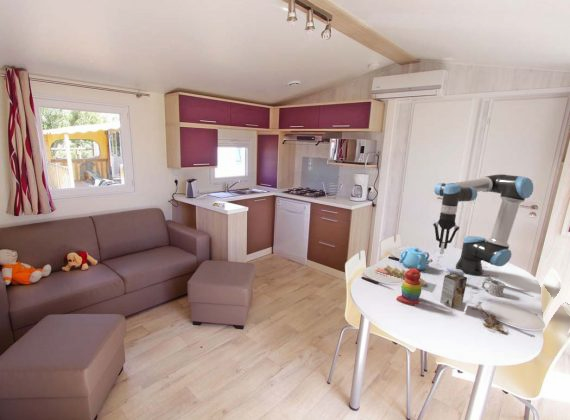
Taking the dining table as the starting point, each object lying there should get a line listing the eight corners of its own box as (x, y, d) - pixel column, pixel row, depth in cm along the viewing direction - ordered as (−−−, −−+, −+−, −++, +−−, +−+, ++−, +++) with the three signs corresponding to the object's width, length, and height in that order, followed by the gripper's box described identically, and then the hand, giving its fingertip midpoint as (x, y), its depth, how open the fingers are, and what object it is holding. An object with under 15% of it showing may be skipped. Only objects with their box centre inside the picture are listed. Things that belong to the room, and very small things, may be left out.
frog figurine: (475, 316, 145) (476, 309, 144) (504, 323, 140) (506, 316, 139) (479, 329, 134) (481, 322, 134) (511, 337, 130) (513, 330, 129)
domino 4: (418, 279, 175) (402, 269, 180) (416, 282, 171) (400, 271, 176) (416, 281, 176) (401, 271, 181) (414, 284, 172) (398, 273, 177)
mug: (503, 293, 168) (505, 283, 167) (501, 297, 164) (503, 286, 162) (482, 287, 175) (484, 277, 174) (479, 291, 170) (482, 280, 169)
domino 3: (410, 277, 178) (395, 267, 182) (408, 280, 174) (392, 269, 178) (408, 279, 179) (393, 269, 183) (406, 282, 175) (391, 271, 179)
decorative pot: (431, 269, 198) (434, 249, 195) (418, 274, 188) (421, 254, 185) (408, 260, 210) (411, 242, 207) (395, 265, 201) (398, 246, 198)
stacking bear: (403, 293, 163) (408, 263, 159) (422, 301, 156) (428, 269, 152) (394, 300, 156) (399, 268, 152) (414, 308, 149) (419, 275, 145)
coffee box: (450, 300, 158) (455, 272, 155) (462, 306, 153) (468, 277, 149) (439, 303, 154) (444, 275, 150) (450, 310, 149) (456, 280, 145)
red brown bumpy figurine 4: (402, 274, 181) (387, 264, 185) (399, 277, 177) (384, 267, 181) (401, 276, 181) (386, 266, 186) (398, 279, 177) (383, 269, 182)
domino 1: (391, 277, 180) (375, 272, 185) (394, 274, 184) (378, 270, 189) (392, 275, 179) (375, 270, 185) (394, 272, 183) (378, 267, 189)
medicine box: (458, 282, 180) (460, 269, 178) (461, 286, 175) (464, 272, 173) (444, 281, 180) (446, 268, 178) (447, 284, 176) (450, 271, 174)
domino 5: (426, 281, 173) (410, 271, 177) (424, 284, 169) (408, 274, 173) (424, 283, 174) (409, 273, 178) (422, 286, 170) (406, 276, 174)
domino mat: (436, 286, 173) (436, 284, 173) (431, 294, 164) (432, 292, 164) (391, 273, 188) (391, 271, 188) (384, 279, 179) (385, 278, 179)
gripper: (433, 211, 163) (427, 252, 168) (461, 216, 155) (453, 258, 161) (436, 209, 168) (430, 249, 174) (462, 213, 161) (455, 254, 167)
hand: (441, 253), depth 167 cm, fingers closed
